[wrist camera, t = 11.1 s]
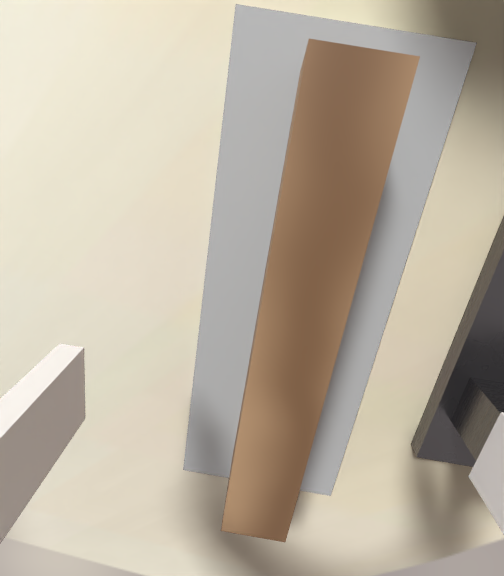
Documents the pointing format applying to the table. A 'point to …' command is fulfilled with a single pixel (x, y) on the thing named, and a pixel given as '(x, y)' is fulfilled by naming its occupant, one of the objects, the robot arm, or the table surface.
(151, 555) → the table surface
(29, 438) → the robot arm
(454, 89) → the mat
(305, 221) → the rail
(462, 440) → the stand
